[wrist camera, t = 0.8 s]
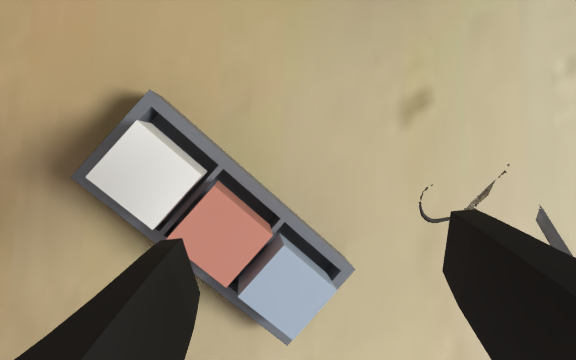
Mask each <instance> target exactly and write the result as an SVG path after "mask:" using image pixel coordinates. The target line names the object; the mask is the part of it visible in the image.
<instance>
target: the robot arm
mask: <svg viewBox="0 0 576 360" xmlns="http://www.w3.org/2000/svg"><path fill="white" fill-rule="evenodd" d="M443 273H444V275H445V278H446V280H447V282H448V285H449V287H450V289H451V291H452V293H453V295H454V298H455V300H456V302H457V304H458V306H459V308H460V309H461V311H462V313H463V314H464V316H465V318H466V319H467V321H468V323H469V324H470V326H471V327H472V329H473V331H474V332H475V334H476V336H477V337H478V339H479V340H480V342H481V344H482V345H483V347H484V348H485V350H486V352H487V353H488V355H489V356H490V358H491V360H576V258H575V257H573V256H571V255H569V254H567V253H564V252H562V251H560V250H558V249H556V248H554V247H552V246H550V245H548V244H546V243H544V242H542V241H540V240H538V239H536V238H534V237H532V236H530V235H528V234H526V233H524V232H522V231H520V230H518V229H516V228H514V227H512V226H510V225H508V224H506V223H504V222H502V221H500V220H498V219H496V218H494V217H491V216H489V215H487V214H485V213H483V212H480V211H478V210H475V209H472V210H462V211H452V212H451V215H450V222H449V229H448V236H447V243H446V250H445V257H444V264H443ZM199 297H200V291H199V288H198V285H197V282H196V279H195V276H194V273H193V269H192V266H191V263H190V260H189V257H188V254H187V251H186V248H185V245H184V242H183V239H182V238H178V239H168V240H160V241H159V242H158V243H156V244H155V245H154V246H152V247H151V248H150V249H149V250H148V251H146V252H145V253H144V254H143V255H142V256H141V257H139V258H138V259H137V260H136V261H135V262H134V263H133V264H131V265H130V266H129V267H128V268H127V269H126V270H125V271H123V272H122V273H121V274H120V275H119V276H118V277H117V278H115V279H114V280H113V281H112V282H111V283H110V284H108V285H107V286H106V287H105V288H104V289H103V290H102V291H100V292H99V293H98V294H97V295H96V296H95V297H93V298H92V299H91V300H90V301H89V302H87V303H86V304H85V305H84V306H82V307H81V308H80V309H79V310H77V311H76V312H75V313H74V314H73V315H71V316H70V317H69V318H68V319H66V320H65V321H64V322H63V323H61V324H60V325H59V326H58V327H57V328H55V329H54V330H53V331H52V332H50V333H49V334H48V335H47V336H45V337H44V338H43V339H41V340H40V341H39V342H37V343H36V344H35V345H33V346H32V347H31V348H29V349H28V350H27V351H25V352H24V353H23V354H21V355H20V356H19V357H17V358H16V359H14V360H184V359H185V356H186V353H187V350H188V346H189V343H190V340H191V336H192V333H193V330H194V325H195V320H196V315H197V309H198V303H199Z"/></svg>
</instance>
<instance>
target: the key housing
mask: <svg viewBox="0 0 576 360" xmlns="http://www.w3.org/2000/svg"><path fill="white" fill-rule="evenodd" d="M136 120H139V121H143V122H147V123H152V124H153V125H154V126H155V127H156V128H157V129H159V130H160V131H161V132H162V133H163V134H164V135H166V136H167V137H168V138H169V139H170V140H172V141H173V142H174V143H175V144H176V145H177V146H179V147H180V148H181V149H182V150H183V151H184V152H186V153H187V154H188V155H189V156H190V157H191V158H193V159H194V160H195V161H196V162H197V163H198V164H200V165H201V166H202V167H203V168H204V169H205V170H207V173H206V174H205V175H204V176H203V177H202V178H201V179H200V180H199V182H198V183H197V184H196V185H195V186H194V187H193V188H192V189H191V190H190V192H189V193H188V194H187V195H186V196H185V197H184V198H183V199H182V200H181V202H180V203H179V204H178V205H177V206H176V207H175V208H174V209H173V210H172V212H171V213H170V214H169V215H168V216H167V217H166V218H165V219H164V220H163V221H162V222H161V223H160V224H159V225H158V226H156V227H155V228H154V229H153V230H152V229H151V228H149V227H148V226H147V225H145V224H144V223H143V222H142V221H140V220H139V219H138V218H137V217H135V216H134V215H133V214H131V213H130V212H129V211H128V210H126V209H125V208H124V207H123V206H121V205H120V204H119V203H117V202H116V201H115V200H114V199H112V198H111V197H110V196H109V195H107V194H106V193H105V192H103V191H102V190H101V189H100V188H98V187H97V186H96V185H95V184H93V183H92V182H91V181H89V180H88V179H87V178H86V176H87V175H88V174H89V172H90V171H91V170H92V169H93V168H94V167H95V166H96V165H97V164H98V162H99V161H100V160H101V159H102V158H103V157H104V156H105V155H106V154H107V152H108V151H109V150H110V149H111V148H112V147H113V146H114V145H115V144H116V143H117V141H118V140H119V139H120V138H121V137H122V136H123V135H124V134H125V133H126V131H127V130H128V129H129V128H130V127H131V126H132V125H133V124H134V123H135V121H136ZM71 178H72V179H73V180H75V181H76V182H77V183H79V184H80V185H81V186H82V187H84V188H85V189H86V190H88V191H89V192H90V193H91V194H93V195H94V196H95V197H97V198H98V199H99V200H100V201H102V202H103V203H104V204H106V205H107V206H108V207H109V208H111V209H112V210H113V211H115V212H116V213H117V214H118V215H120V216H121V217H122V218H124V219H125V220H126V221H127V222H129V223H130V224H131V225H133V226H134V227H135V228H136V229H138V230H139V231H140V232H142V233H143V234H144V235H145V236H147V237H148V238H149V239H151V240H152V241H153V242H154V243H158V242H159V241H160V240H166V239H167V238H168V236H169V235H170V234H171V233H172V232H173V231H174V229H175V228H176V227H177V226H178V225H179V224H180V223H181V222H182V220H183V219H184V218H185V217H186V216H187V215H188V214H189V213H190V212H191V210H192V209H193V208H194V207H195V206H196V205H197V204H198V203H199V201H200V200H201V199H202V198H203V197H204V196H205V195H206V194H207V193H208V191H209V190H210V189H211V188H212V187H213V186H214V185H215V184H216V183H217V181H219V182H221V183H222V184H223V185H224V186H225V187H226V188H228V189H229V190H230V191H231V192H232V193H234V194H235V195H236V196H237V197H238V198H239V199H241V200H242V201H243V202H244V203H245V204H246V205H248V206H249V207H250V208H251V209H252V210H253V211H255V212H256V213H257V214H258V215H259V216H260V217H262V218H263V219H264V220H265V221H266V222H267V223H269V224H270V227H271V231H272V234H273V236H272V237H271V238H270V239H269V241H268V242H267V243H266V244H265V245H264V246H263V247H262V248H261V249H260V251H259V252H258V253H257V254H256V255H255V256H254V257H253V258H252V259H251V261H250V262H249V263H248V264H247V265H246V266H245V267H244V268H243V270H242V271H241V272H240V273H239V274H238V275H237V276H236V277H235V278H234V280H233V281H232V282H231V283H230V284H229V285H228V286H227V287H224V286H223V285H222V284H221V283H219V282H218V281H217V280H216V279H214V278H213V277H212V276H210V275H209V274H208V273H207V272H205V271H204V270H203V269H202V268H200V267H199V266H198V265H196V264H195V263H194V262H193V261H191V260H190V259H189V260H190V263H191V266H192V269H193V273H194V274H196V275H197V276H198V277H199V278H201V279H202V280H203V281H205V282H206V283H207V284H208V285H210V286H211V287H212V288H214V289H215V290H216V291H217V292H219V293H220V294H221V295H223V296H224V297H225V298H226V299H228V300H229V301H230V302H232V303H233V304H234V305H235V306H237V307H238V308H239V309H241V310H242V311H243V312H244V313H246V314H247V315H248V316H250V317H251V318H252V319H253V320H255V321H256V322H257V323H259V324H260V325H261V326H262V327H264V328H265V329H266V330H268V331H269V332H270V333H271V334H273V335H274V336H275V337H277V338H278V339H279V340H280V341H282V342H283V343H284V344H286V345H287V346H288V344H289V343H290V342H291V341H292V339H291V338H289V337H288V336H287V335H286V334H284V333H283V332H282V331H281V330H279V329H278V328H277V327H275V326H274V325H273V324H272V323H270V322H269V321H268V320H267V319H265V318H264V317H263V316H261V315H260V314H259V313H258V312H256V311H255V310H254V309H252V308H251V307H250V306H249V305H247V304H246V303H245V302H244V301H242V300H241V299H240V298H238V283H239V277H240V276H241V275H242V274H243V273H244V272H245V271H246V270H247V268H248V267H249V266H250V265H251V264H252V263H253V262H254V261H255V260H256V258H257V257H258V256H259V255H260V254H261V253H262V252H263V251H264V249H265V248H266V247H267V246H268V245H269V244H270V243H271V242H272V241H273V239H274V238H275V237H276V236H277V235H278V234H279V233H280V234H281V235H283V236H284V237H285V238H286V239H287V240H288V241H290V242H291V243H292V244H293V245H294V246H296V247H297V248H298V249H299V250H300V251H301V252H303V253H304V254H305V255H306V256H307V257H308V258H310V259H311V260H312V261H313V262H314V263H315V264H317V265H318V266H319V267H320V268H321V269H322V270H324V271H325V272H326V273H327V275H328V276H329V278H330V279H331V281H332V282H333V284H334V286H335V287H336V289H338V288H339V287H340V286H341V285H342V284H343V283H344V282H345V280H346V279H347V278H348V277H349V276H350V275H351V274H352V273H353V271H354V270H355V269H354V268H353V266H352V265H351V264H350V263H349V262H348V261H347V260H346V258H345V257H344V256H343V255H342V254H341V253H339V252H338V251H337V250H336V249H335V248H334V247H333V246H332V245H330V244H329V243H328V242H327V241H326V240H325V239H324V238H322V237H321V236H320V235H319V234H318V233H317V232H316V231H314V230H313V229H312V228H311V227H310V226H309V225H308V224H306V223H305V222H304V221H303V220H302V219H301V218H300V217H299V216H297V215H296V214H295V213H294V212H293V211H292V210H291V209H289V208H288V207H287V206H286V205H285V204H284V203H283V202H281V201H280V200H279V199H278V198H277V197H276V196H275V195H273V194H272V193H271V192H270V191H269V190H268V189H267V188H266V187H264V186H263V185H262V184H261V183H260V182H259V181H258V180H256V179H255V178H254V177H253V176H252V175H251V174H250V173H248V172H247V171H246V170H245V169H244V168H243V167H242V166H240V165H239V164H238V163H237V162H236V161H235V160H234V159H232V158H231V157H230V156H229V155H228V154H227V153H226V152H225V151H223V150H222V149H221V148H220V147H219V146H218V145H217V144H215V143H214V142H213V141H212V140H211V139H210V138H209V137H207V136H206V135H205V134H204V133H203V132H202V131H201V130H199V129H198V128H197V127H196V126H195V125H194V124H193V123H192V122H190V121H189V120H188V119H187V118H186V117H185V116H184V115H182V114H181V113H180V112H179V111H178V110H177V109H176V108H174V107H173V106H172V105H171V104H170V103H169V102H168V101H166V100H165V99H164V98H163V97H162V96H160V95H158V94H157V93H155V92H153V91H152V90H149V91H148V92H147V93H146V94H145V95H144V96H143V97H142V99H141V100H140V101H139V102H138V103H137V104H136V105H135V106H134V107H133V108H132V110H131V111H130V112H129V113H128V114H127V115H126V116H125V117H124V118H123V120H122V121H121V122H120V123H119V124H118V125H117V126H116V127H115V128H114V130H113V131H112V132H111V133H110V134H109V135H108V136H107V137H106V138H105V139H104V141H103V142H102V143H101V144H100V145H99V146H98V147H97V148H96V149H95V151H94V152H93V153H92V154H91V155H90V156H89V157H88V158H87V159H86V161H85V162H84V163H83V164H82V165H81V166H80V167H79V168H78V169H77V171H76V172H75V173H74V174H73V175H72V176H71Z"/></svg>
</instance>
